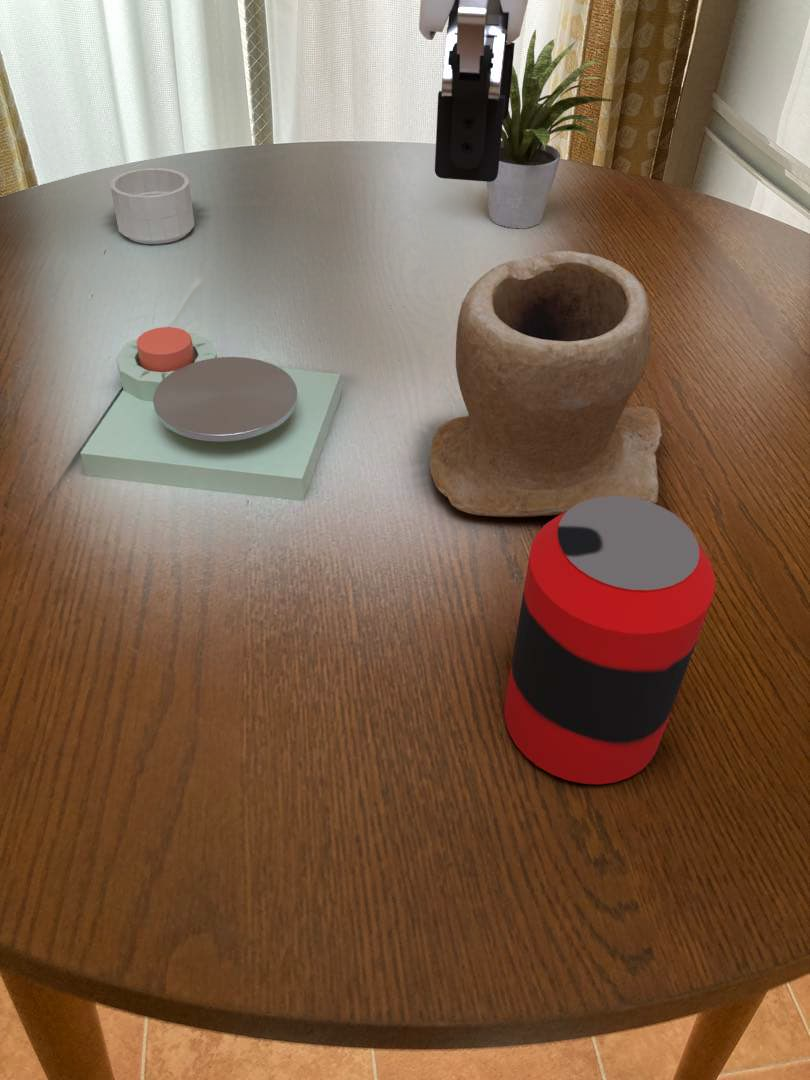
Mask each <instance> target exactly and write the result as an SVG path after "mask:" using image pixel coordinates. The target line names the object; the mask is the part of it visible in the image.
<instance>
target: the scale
mask: <svg viewBox="0 0 810 1080" xmlns="http://www.w3.org/2000/svg"><path fill="white" fill-rule="evenodd" d="M188 333H189V334H190V336H191V338H192V346H193V353H194V360H193V362H192V363H194V362H198V361H201V360H206V359H212V358H218V353H217V352H216V349H215V347H214V345H213V343H212V341H211V340H208V339H206V338H205V337H202V336H200V335H199V334H196V333H192V332H188ZM137 340H138V338H136V339H134V340H131V341H129V342H127V343H125V345H124V346H123V347H122V349H121V350H120V352H119V353H118V354H117V355H116V357H115V360H116V365H117V370H118V375H119V379H120V382H121V385H122V389H123V390H122V391H121V392H120V393H119V395H118V396H117V398H116V400H115V401H114V402H113V404H112V406H111V407H110V409H109V410H108V411H107V413H106V414H105V416H104V417H103V419H102V420H101V422H100V423H99V425H98V426H97V427H96V429H95V431H94V432H93V433H92V435H91V437H90V438H88V439H89V440H88V441H87V443H86V444H85V445H84V446H83V448H82V449H81V451H80V459H81V462H82V465H83V470H84V474H85V477H88V478H89V477H90V478H98V479H107V480H114V481H125V482H133V483H140V484H149V485H157V486H158V485H159V486H167V487H173V488H175V487H176V488H184V489H193V490H201V491H210V492H218V493H226V494H227V493H228V494H236V495H244V496H252V497H260V496H262V497H261V498H270V499H272V498H271V497H274V498H273V499H277V498H281V499H280V500H286V499H289V500H288V501H295V500H297V501H296V502H304V501H305V499H306V496H307V494H306V493H308V490H309V487H310V485H311V482H312V479H313V477H314V473H315V471H316V468H317V465H318V462H319V460H320V456H321V455H322V452H323V448H324V446H325V442H326V440H327V437H328V435H329V432H330V428H331V425H332V423H333V420H334V417H335V415H336V412H337V409H338V405H339V403H340V401H341V398H342V382H341V381H342V380H341V379H342V378H341V376H342V375H341V373H334V372H324V371H316V370H315V371H314V370H306V369H297V368H286V367H280V368H281V369H282V370H284V371H285V372H286V373H287V374H288V375H289V376H290V377H291V378H292V379H293V381H294V382H295V385H296V388H297V404H296V407H295V409H294V411H293V413H292V414H291V415H290V417H289V418H288V419H287V420H285V421H284V422H283V423H282V424H280V425H279V426H278V427H276V428H274V429H272V430H270V431H268V432H266V433H263V434H261V435H258V436H255V437H251V438H247V439H242V440H235V441H204V440H197V439H193V438H189V437H185V436H183V435H180V434H178V433H176V432H173V431H172V430H170V429H169V428H167V427H166V426H165V425H164V424H163V423H162V422H161V421H160V420H159V419H158V417H157V415H156V413H155V409H154V404H153V397H154V393H155V390H156V388H157V386H158V385H159V384H160V383H161V381H162V380H163V379H164V378H165V377H167V376H168V375H169V374H171V373H172V372H174V371H170V372H154V371H148V370H146V369H144V368H143V367H142V366H141V364H140V359H139V354H138V348H137ZM266 496H267V497H266ZM303 500H304V501H303Z"/></svg>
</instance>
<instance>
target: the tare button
mask: <svg viewBox="0 0 810 1080" xmlns="http://www.w3.org/2000/svg"><path fill="white" fill-rule="evenodd" d="M189 333H190V332H188V331H186V330H184V329H182V328H179V327H173V326H164V327H163V326H162V327H156V328H152V329H149V330H146V331H145V332H143V333H142V334H140V335H139V336H138V337H137V339H138V340H137V348H138V354H139V359H140V364H141V366H142V367H143V368H144V369H146V370H148V371H154V372H170V371H176V370H177V369H179V368H181V367H184V366H186V365H189V364H191V363H192V362H193V360H194V353H193V346H192V338H191V336H190V334H189Z"/></svg>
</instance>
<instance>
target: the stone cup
mask: <svg viewBox="0 0 810 1080" xmlns="http://www.w3.org/2000/svg"><path fill="white" fill-rule="evenodd" d="M455 340H456V341H455V370H456V376H457V382H458V386H459V390H460V393H461V396H462V399H463V402H464V406H465V408H466V410H467V413H468V415H465V416H459V417H455V418H453V419H450V420H447V421H445V422H444V423H442V424H441V425H440V426H439V427H438V428H437V429H436V430H435V433H434V434H433V436H432V440H431V443H430V447H429V459H428V463H429V469H430V474H431V477H432V480H433V482H434V485H435V487H436V488H437V490H438V491H439V492H440V493H441V494H442V495H444V497H446V498H447V499H448V501H449V503H450V505H451V506H452V507H454V508H455V509H457V510H458V511H461V512H464V513H467V514H470V515H475V516H486V517H497V518H527V517H528V518H529V517H542V516H543V517H544V516H559V515H561V514H563V513H565V512H567V511H568V510H569V509H570V508H572V507H573V506H575V505H576V504H578V503H580V502H583V501H585V500H588V499H592V498H596V497H603V496H625V497H632V498H638V499H641V500H645V501H648V502H651V503H654V504H657V502H658V499H659V489H660V488H659V487H660V485H659V477H658V465H657V456H656V453H657V452H658V449H659V447H660V442H661V438H662V436H663V433H662V426H661V425H662V424H661V422H660V419H659V415H658V413H657V412H656V410H655V409H653V408H652V407H649V406H632V407H629V406H627V405H628V403H629V401H630V399H631V397H632V395H633V393H634V391H635V390H636V388H637V386H638V385H639V383H640V381H641V379H642V377H643V374H644V371H645V370H646V367H647V365H648V361H649V358H650V353H651V348H652V315H651V308H650V302H649V298H648V295H647V292H646V290H645V288H644V285H643V284H642V283H641V282H640V281H639V280H638V279H637V277H636V276H635V275H634V274H632V273H631V272H630V271H629V270H628V269H626V268H624V267H622V266H621V265H619V264H617V262H614V261H612V260H609V259H607V258H604V257H602V256H599V255H595V254H591V253H587V252H586V253H585V252H578V251H574V250H556V251H549V252H545V253H541V254H539V255H535V256H532V257H528V258H524V259H519V260H508V261H506V262H503V263H501V264H498V265H497V266H495V267H492V268H491V269H490V270H488V271H487V272H486V273H485V274H483V275H482V276H480V278H479V279H478V280H477V281H476V282H475V283H474V284H473V285H472V286H471V287H470V288H469V289H468V292H467V293H466V295H465V297H464V299H463V300H462V302H461V305H460V309H459V314H458V318H457V324H456V334H455ZM626 406H627V407H626Z"/></svg>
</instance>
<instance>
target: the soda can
mask: <svg viewBox="0 0 810 1080" xmlns="http://www.w3.org/2000/svg"><path fill="white" fill-rule="evenodd" d="M523 586H524V587H523V593H522V599H521V604H520V611H519V617H518V624H517V629H516V635H515V640H514V646H513V651H512V652H513V653H512V659H511V664H510V670H509V676H508V682H507V687H506V688H507V689H506V694H505V700H504V705H503V711H504V722H505V725H506V728H507V731H508V734H509V735H510V737H511V740H512V741H513V743H514V745H515V747H517V748H518V749H519V751H520V752H521V753H522V754H523V756H525V758H527V759H528V760H529V761H530V762H532V763H533V764H534V765H535V766H536V767H538V768H540V769H542V770H543V771H545V772H547V773H548V774H550V775H552V776H555V777H557V778H561V779H562V780H566V781H569V782H573V783H579V784H583V785H604V784H605V785H606V784H614V783H617V782H620V781H623V780H626V779H629V778H631V777H632V776H635V775H636V774H637V773H639V772H642V770H643V769H644V768H645V767H647V765H648V764H650V762H651V761H652V760H653V758H654V756H655V755H656V753H657V751H658V749H659V746H660V743H661V741H662V739H663V735H664V734H665V733H664V732H665V730H666V727H667V724H668V721H669V719H670V716H671V713H672V710H673V707H674V705H675V702H676V699H677V697H678V694H679V692H680V688H681V686H682V683H683V680H684V678H685V676H686V672H687V669H688V667H689V664H690V661H691V658H692V655H693V653H694V650H695V647H696V645H697V642H698V639H699V636H700V634H701V631H702V629H703V625H704V623H705V620H706V617H707V614H708V612H709V609H710V606H711V603H712V602H713V598H714V594H715V591H716V575H715V572H714V569H713V565H712V562H711V561H710V559H709V557H708V556H707V555H706V553H705V551H704V549H703V547H702V546H701V545H700V544H699V542H698V539H697V537H696V535H695V533H694V532H693V530H692V529H691V528H690V527H689V526H688V524H686V522H684V520H682V519H681V518H680V517H679V516H678V515H676V514H675V513H674V512H671V511H670V510H668V509H667V508H665V507H663V506H660V505H659V504H657V503H655V504H654V503H651V502H648V501H645V500H641V499H638V498H632V497H625V496H603V497H596V498H592V499H588V500H585V501H583V502H580V503H578V504H576V505H575V506H573V507H572V508H570V509H569V510H568V511H567V512H565V513H563V514H559V515H556V517H554V518H553V519H551V520H550V521H548V522H546V523H545V524H544V525H543V526H542V528H541V529H539V531H538V532H536V534H535V536H534V538H533V540H532V543H531V545H530V551H529V556H528V562H527V569H526V573H525V581H524V585H523Z"/></svg>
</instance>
